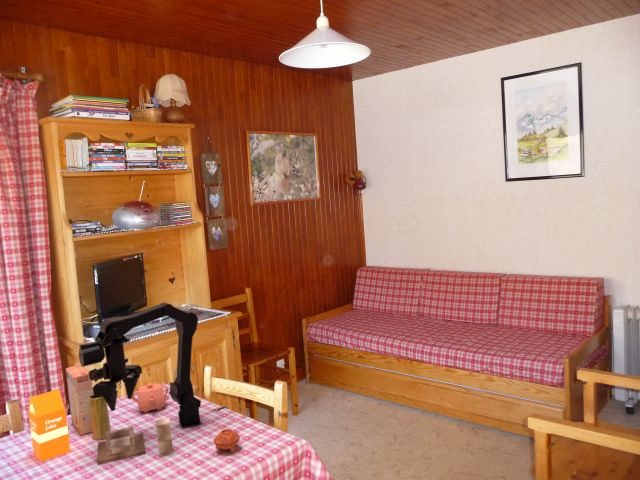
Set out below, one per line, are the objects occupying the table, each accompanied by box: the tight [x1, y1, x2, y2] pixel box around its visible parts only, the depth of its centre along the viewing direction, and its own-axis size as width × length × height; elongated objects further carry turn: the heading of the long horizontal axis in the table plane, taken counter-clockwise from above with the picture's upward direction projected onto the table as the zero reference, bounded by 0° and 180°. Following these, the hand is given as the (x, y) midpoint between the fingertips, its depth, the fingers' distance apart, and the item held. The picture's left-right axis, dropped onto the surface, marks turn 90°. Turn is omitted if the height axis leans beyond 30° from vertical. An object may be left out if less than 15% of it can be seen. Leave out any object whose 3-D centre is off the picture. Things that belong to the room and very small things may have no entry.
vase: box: [89, 394, 112, 441], centre depth 186 cm, size 6×6×14 cm
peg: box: [155, 417, 174, 457], centre depth 172 cm, size 4×4×10 cm
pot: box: [213, 428, 241, 453], centre depth 171 cm, size 8×8×7 cm
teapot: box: [131, 382, 170, 414], centre depth 207 cm, size 12×12×10 cm
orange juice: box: [27, 388, 71, 462], centre depth 176 cm, size 8×9×20 cm
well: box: [96, 426, 146, 465], centre depth 176 cm, size 14×14×5 cm
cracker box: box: [65, 364, 93, 436], centre depth 194 cm, size 14×6×21 cm, turn 35°
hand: (121, 404), depth 178 cm, fingers open, 9 cm apart
